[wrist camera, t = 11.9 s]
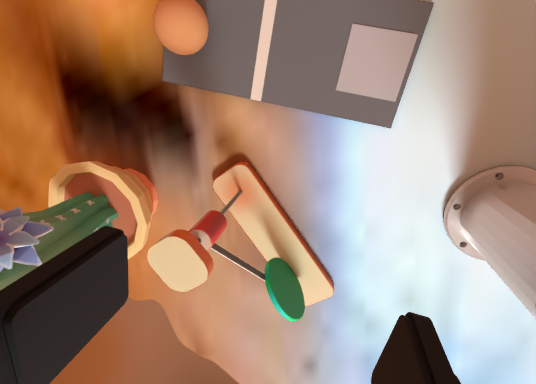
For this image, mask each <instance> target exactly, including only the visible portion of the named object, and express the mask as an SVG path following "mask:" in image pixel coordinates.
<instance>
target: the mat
mask: <svg viewBox="0 0 536 384" xmlns="http://www.w3.org/2000/svg"><path fill="white" fill-rule="evenodd" d="M195 1H196V2H197V3H198V4H199V5H200V6H201V7H202V9H203V10H204V12H205V14H206V17H207V20H208V26H209V32H208V37H207V40H206V43H205V44H204V46H203V47H202V48H201V49H200V50H199V51H198V52H196V53H194V54H190V55H179V54H176V53H174V52H172V51H170V50H168V49H167V48H166V47H165V46H164V57H163V81H166V82H171V83H176V84H181V85H185V86H190V87H195V88H200V89H205V90H210V91H214V92H219V93H224V94H229V95H234V96H238V97H243V98H248V99H252V100H257V101H262V102H267V103H272V104H277V105H282V106H286V107H291V108H296V109H301V110H306V111H310V112H315V113H320V114H325V115H330V116H334V117H339V118H344V119H349V120H354V121H358V122H363V123H368V124H373V125H378V126H382V127H387V128H391V126H392V123H393V120H394V117H395V114H396V111H397V108H398V106H399V103H400V100H401V97H402V94H403V91H404V88H405V85H406V82H407V79H408V77H409V74H410V71H411V68H412V65H413V62H414V59H415V56H416V53H417V50H418V48H419V45H420V42H421V39H422V36H423V33H424V30H425V27H426V24H427V22H428V19H429V16H430V13H431V10H432V7H433V4H434V3H432V2H425V1H419V0H195Z"/></svg>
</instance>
